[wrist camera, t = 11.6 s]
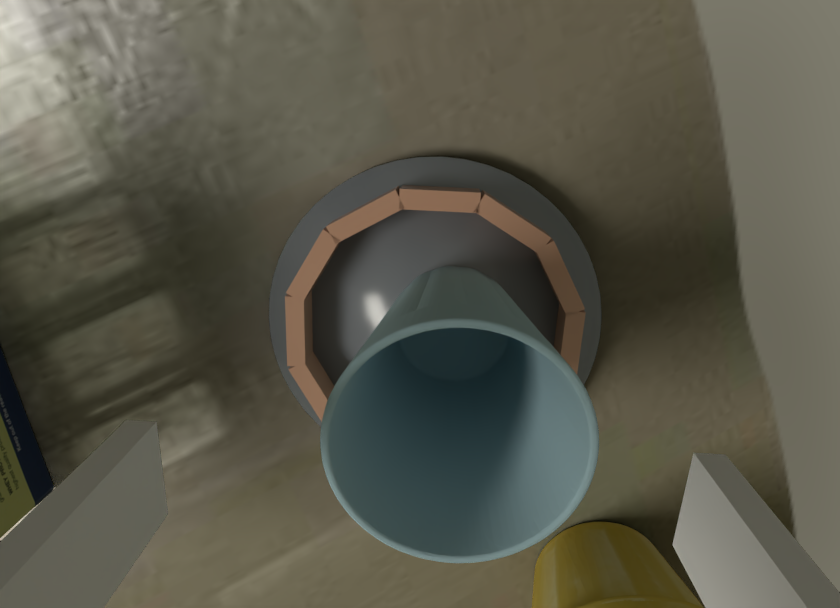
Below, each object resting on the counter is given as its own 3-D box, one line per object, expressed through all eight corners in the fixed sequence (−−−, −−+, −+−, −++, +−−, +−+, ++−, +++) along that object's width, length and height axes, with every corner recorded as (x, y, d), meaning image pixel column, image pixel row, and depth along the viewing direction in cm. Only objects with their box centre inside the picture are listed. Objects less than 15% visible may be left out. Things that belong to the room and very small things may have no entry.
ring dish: (267, 148, 24) (249, 150, 22) (620, 164, 24) (637, 168, 22) (279, 452, 29) (265, 479, 27) (574, 470, 28) (585, 499, 26)
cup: (464, 201, 24) (477, 259, 14) (574, 332, 25) (656, 468, 15) (334, 312, 26) (264, 433, 16) (444, 428, 27) (444, 604, 17)
